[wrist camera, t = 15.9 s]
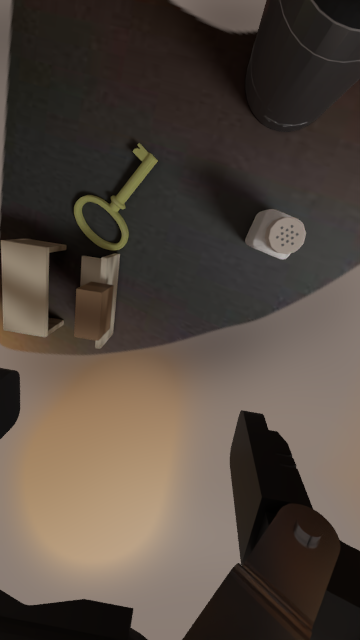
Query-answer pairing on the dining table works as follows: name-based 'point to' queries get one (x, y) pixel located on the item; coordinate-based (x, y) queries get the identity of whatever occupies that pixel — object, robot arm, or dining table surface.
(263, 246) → the salt shaker
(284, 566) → the robot arm
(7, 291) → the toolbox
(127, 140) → the dining table surface
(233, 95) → the dining table surface
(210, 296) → the dining table surface
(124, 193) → the key
